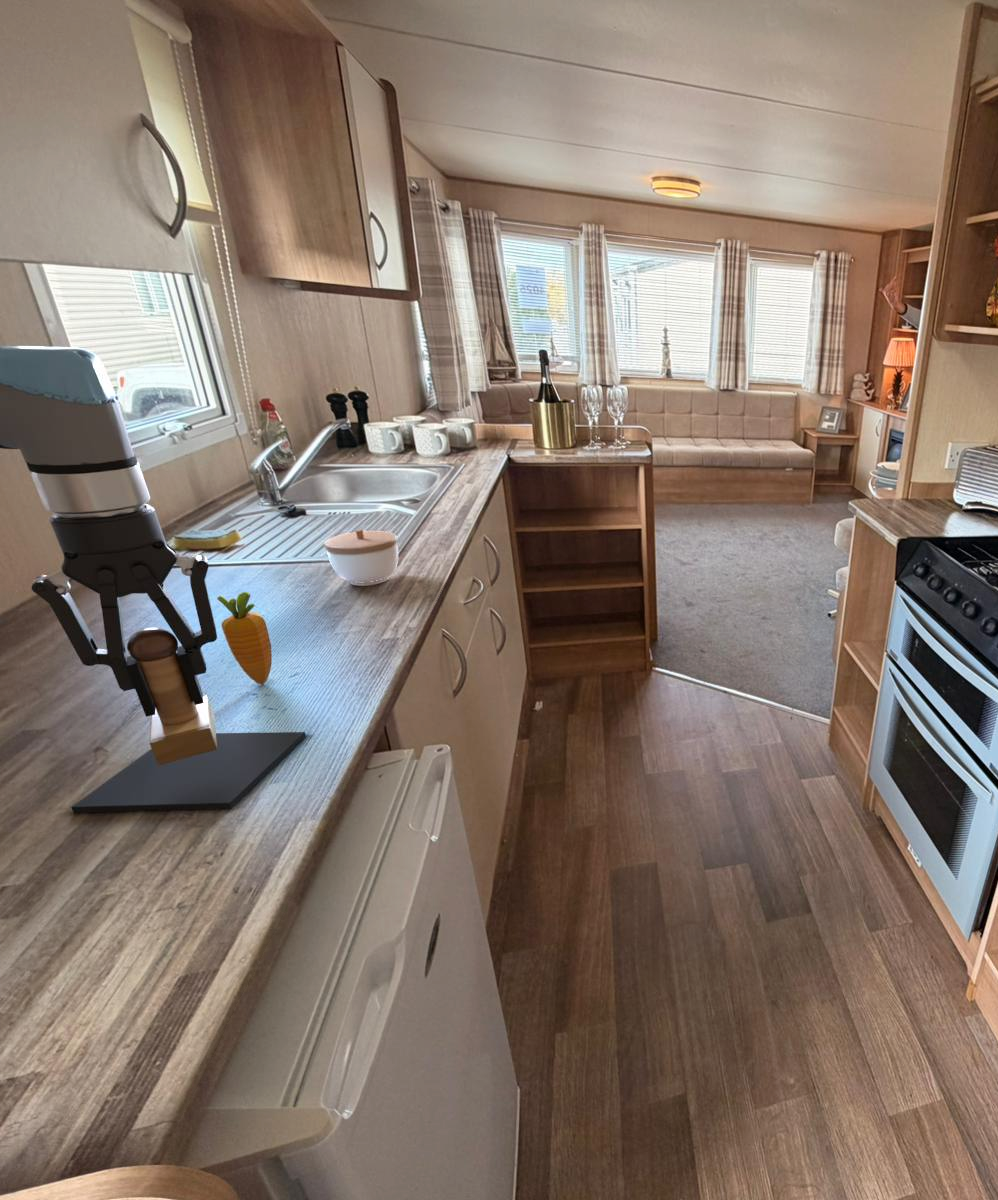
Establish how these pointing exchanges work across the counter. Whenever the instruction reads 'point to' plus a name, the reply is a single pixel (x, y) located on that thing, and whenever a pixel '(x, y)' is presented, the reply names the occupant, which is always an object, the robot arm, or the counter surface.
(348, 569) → the lidded bowl
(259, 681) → the carrot
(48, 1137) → the counter surface
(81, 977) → the counter surface
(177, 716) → the stamp
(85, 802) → the mat
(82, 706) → the counter surface
